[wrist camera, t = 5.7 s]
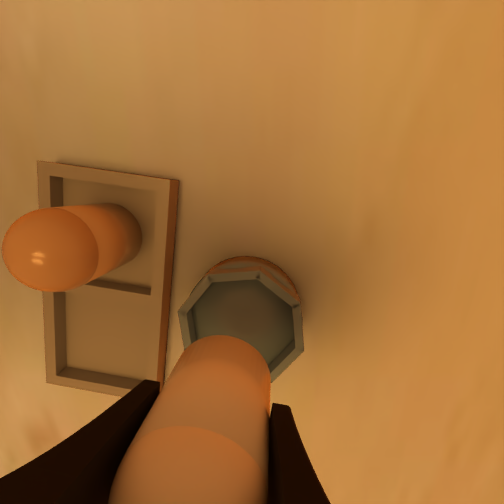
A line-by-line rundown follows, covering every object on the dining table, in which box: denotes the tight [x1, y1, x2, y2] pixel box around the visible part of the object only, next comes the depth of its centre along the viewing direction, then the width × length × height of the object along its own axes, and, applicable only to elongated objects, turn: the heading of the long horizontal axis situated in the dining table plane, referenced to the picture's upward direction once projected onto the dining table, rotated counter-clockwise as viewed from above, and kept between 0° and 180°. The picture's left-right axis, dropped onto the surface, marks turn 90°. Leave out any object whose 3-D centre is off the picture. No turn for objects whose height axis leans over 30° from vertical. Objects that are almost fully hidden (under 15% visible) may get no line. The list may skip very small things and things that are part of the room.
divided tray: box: [37, 161, 179, 397], centre depth 20 cm, size 16×9×2 cm, turn 172°
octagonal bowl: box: [178, 256, 304, 383], centre depth 18 cm, size 8×8×4 cm
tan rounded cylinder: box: [108, 335, 271, 504], centre depth 9 cm, size 4×4×7 cm
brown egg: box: [2, 203, 142, 292], centre depth 16 cm, size 4×4×7 cm
